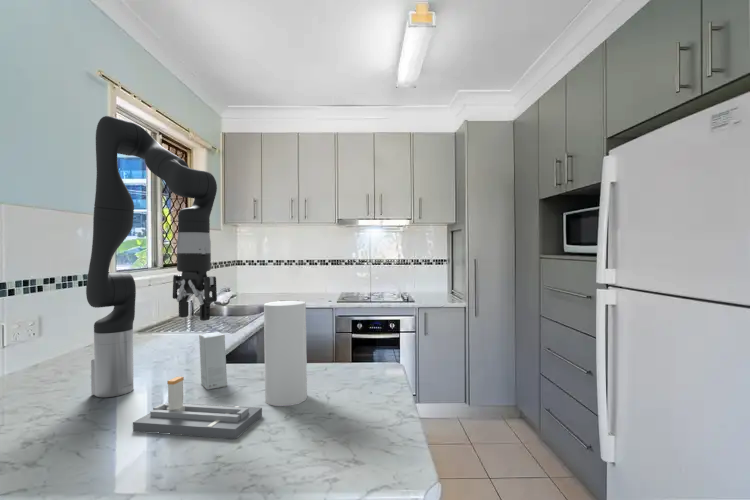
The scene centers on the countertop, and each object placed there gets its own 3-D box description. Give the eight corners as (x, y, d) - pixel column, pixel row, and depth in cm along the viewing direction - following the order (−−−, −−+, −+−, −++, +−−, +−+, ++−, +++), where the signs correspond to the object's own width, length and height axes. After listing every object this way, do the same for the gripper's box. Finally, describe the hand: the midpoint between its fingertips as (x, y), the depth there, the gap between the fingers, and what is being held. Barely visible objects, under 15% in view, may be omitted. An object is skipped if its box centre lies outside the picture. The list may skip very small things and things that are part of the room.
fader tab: (165, 415, 93) (164, 380, 93) (175, 409, 96) (174, 376, 96) (177, 415, 92) (176, 381, 92) (186, 410, 96) (186, 377, 96)
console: (132, 431, 89) (132, 415, 89) (170, 410, 101) (170, 396, 101) (235, 438, 85) (235, 422, 85) (262, 416, 97) (261, 401, 97)
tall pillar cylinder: (256, 403, 105) (255, 304, 106) (280, 390, 115) (279, 300, 115) (292, 408, 101) (291, 306, 102) (314, 394, 111) (313, 301, 112)
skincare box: (227, 386, 119) (226, 334, 119) (205, 390, 116) (204, 337, 116) (220, 379, 126) (219, 330, 126) (199, 383, 123) (198, 332, 123)
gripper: (162, 251, 101) (162, 318, 101) (197, 251, 93) (197, 323, 93) (190, 251, 107) (190, 314, 107) (226, 251, 100) (226, 319, 100)
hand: (194, 318), depth 100 cm, fingers open, 8 cm apart
